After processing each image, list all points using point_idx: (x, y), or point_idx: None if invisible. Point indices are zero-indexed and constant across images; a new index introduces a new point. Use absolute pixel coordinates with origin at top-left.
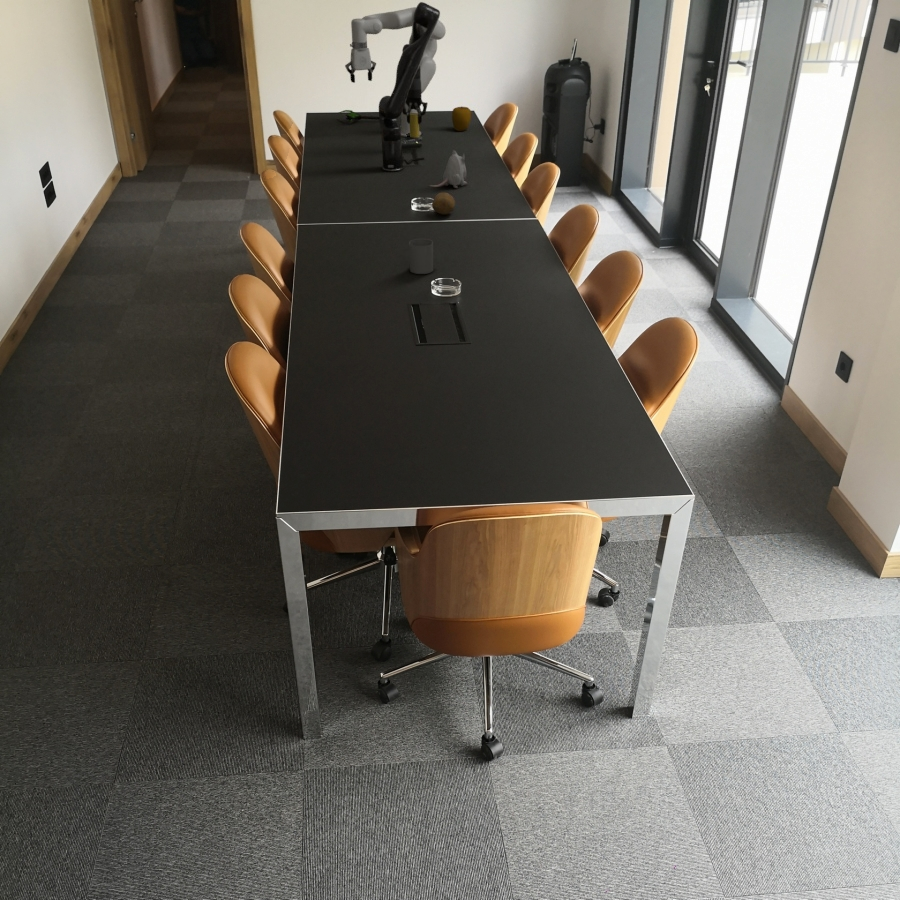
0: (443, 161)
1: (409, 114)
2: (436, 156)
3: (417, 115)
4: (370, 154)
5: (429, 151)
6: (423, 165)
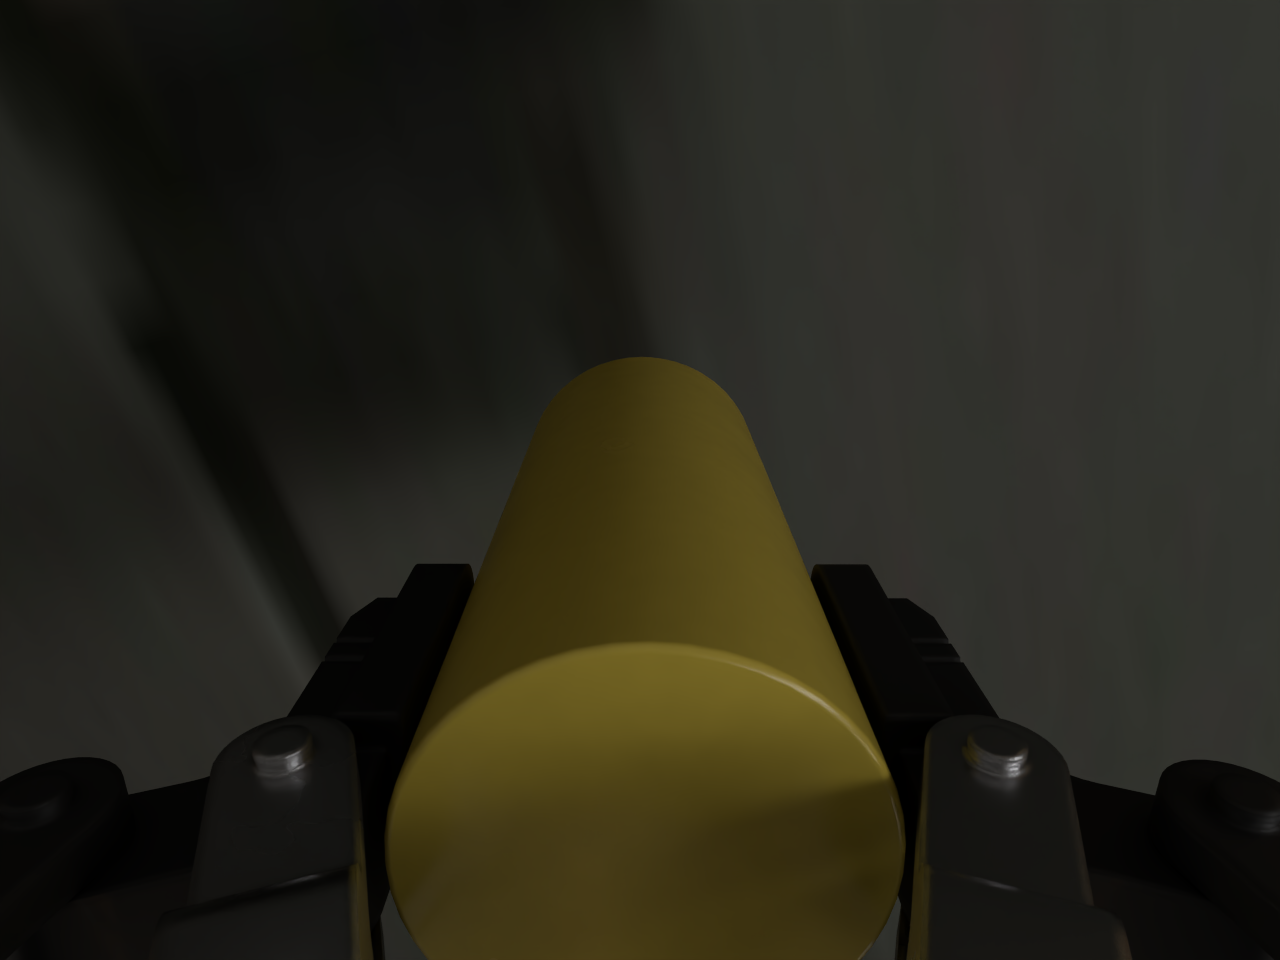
0: (1141, 741)
1: (375, 817)
2: (1027, 519)
3: (839, 939)
4: (19, 610)
5: (875, 227)
6: (894, 933)
